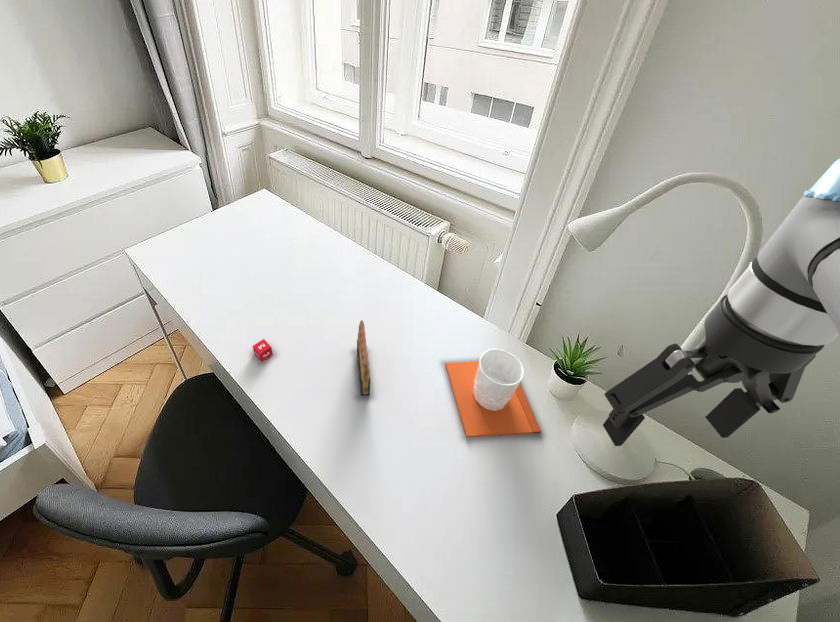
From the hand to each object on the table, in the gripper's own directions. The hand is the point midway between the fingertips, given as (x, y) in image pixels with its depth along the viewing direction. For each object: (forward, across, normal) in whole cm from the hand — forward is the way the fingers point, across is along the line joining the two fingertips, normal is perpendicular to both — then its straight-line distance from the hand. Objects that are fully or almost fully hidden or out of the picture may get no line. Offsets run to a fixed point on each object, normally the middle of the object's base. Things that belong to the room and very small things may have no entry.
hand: (664, 431), depth 51 cm
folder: (+25, +10, -21) cm, 34 cm away
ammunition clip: (+25, +34, -28) cm, 51 cm away
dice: (+25, +56, -35) cm, 71 cm away
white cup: (+24, +10, -21) cm, 33 cm away
